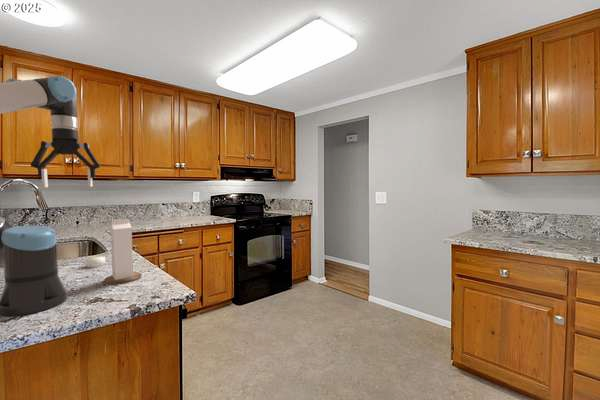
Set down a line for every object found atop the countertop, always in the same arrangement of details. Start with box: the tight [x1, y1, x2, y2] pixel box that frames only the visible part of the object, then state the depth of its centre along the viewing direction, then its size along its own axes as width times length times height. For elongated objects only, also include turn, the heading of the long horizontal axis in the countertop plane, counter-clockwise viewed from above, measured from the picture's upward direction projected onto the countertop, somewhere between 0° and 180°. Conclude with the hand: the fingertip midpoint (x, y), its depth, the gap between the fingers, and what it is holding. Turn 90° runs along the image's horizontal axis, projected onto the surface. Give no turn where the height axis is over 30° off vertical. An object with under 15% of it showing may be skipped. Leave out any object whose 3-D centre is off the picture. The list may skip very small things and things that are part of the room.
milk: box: [109, 218, 134, 280], centre depth 110 cm, size 6×6×22 cm
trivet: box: [104, 271, 142, 285], centre depth 110 cm, size 12×12×1 cm
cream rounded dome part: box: [85, 255, 106, 269], centre depth 128 cm, size 7×7×4 cm
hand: (68, 187), depth 107 cm, fingers open, 13 cm apart
